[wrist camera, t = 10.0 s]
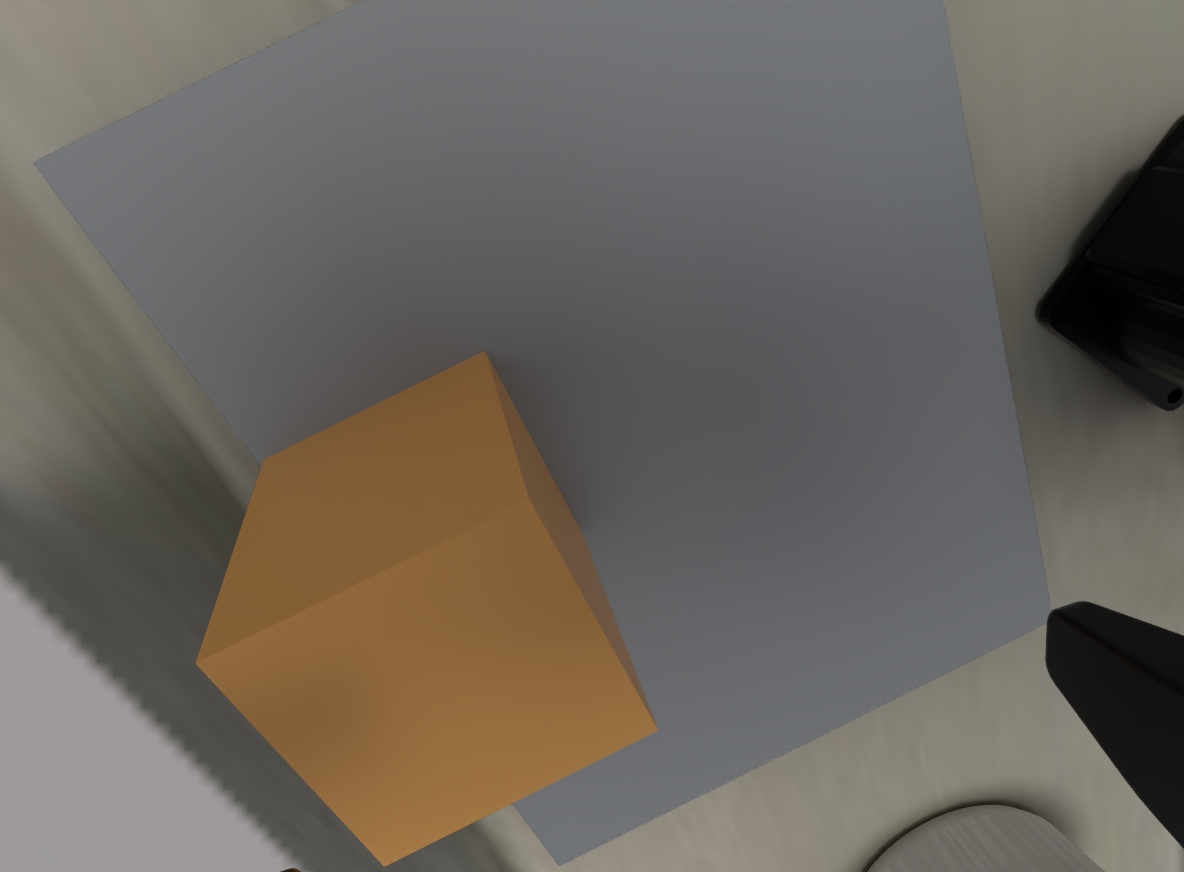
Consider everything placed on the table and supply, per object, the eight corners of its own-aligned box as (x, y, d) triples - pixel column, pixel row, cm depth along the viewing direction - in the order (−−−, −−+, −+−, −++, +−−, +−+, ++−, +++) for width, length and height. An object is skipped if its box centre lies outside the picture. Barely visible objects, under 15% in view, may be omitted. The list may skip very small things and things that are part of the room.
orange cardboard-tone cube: (581, 532, 21) (658, 730, 15) (388, 627, 21) (384, 866, 15) (485, 350, 18) (528, 498, 12) (263, 459, 18) (195, 663, 12)
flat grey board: (1021, 592, 28) (1053, 619, 26) (551, 827, 27) (559, 866, 26) (856, -235, 16) (896, -261, 15) (62, 154, 16) (32, 162, 15)
